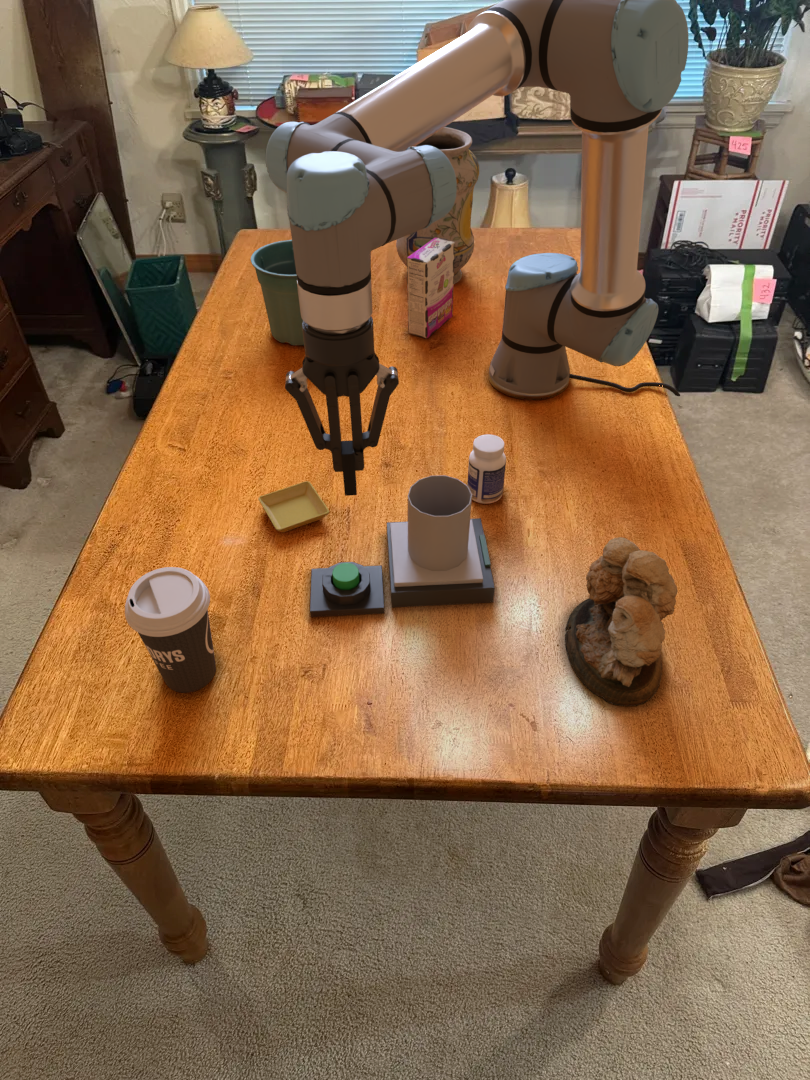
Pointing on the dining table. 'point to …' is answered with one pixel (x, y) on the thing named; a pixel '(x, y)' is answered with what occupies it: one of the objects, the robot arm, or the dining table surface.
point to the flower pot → (280, 290)
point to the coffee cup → (174, 626)
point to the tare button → (345, 576)
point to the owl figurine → (622, 624)
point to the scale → (439, 573)
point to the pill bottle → (487, 469)
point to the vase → (459, 217)
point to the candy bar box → (430, 287)
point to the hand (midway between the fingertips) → (350, 488)
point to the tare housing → (346, 593)
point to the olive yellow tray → (293, 506)
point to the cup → (438, 522)
